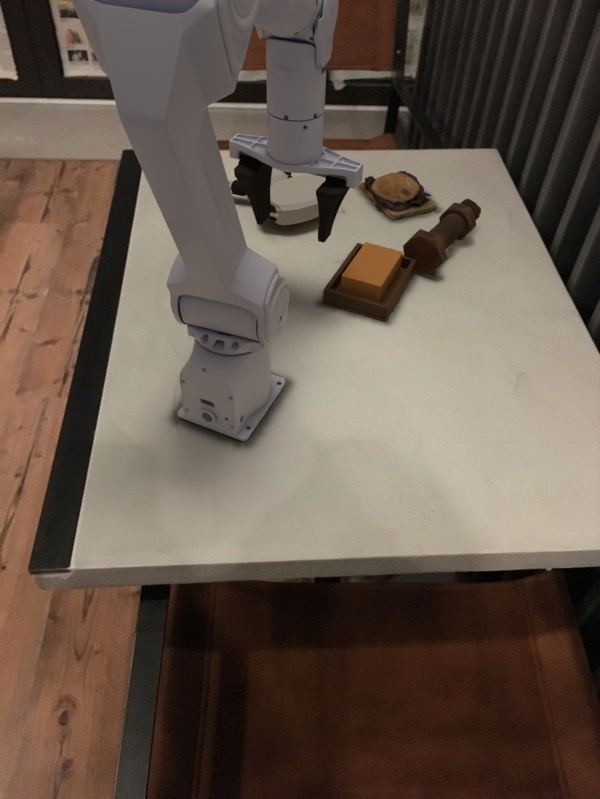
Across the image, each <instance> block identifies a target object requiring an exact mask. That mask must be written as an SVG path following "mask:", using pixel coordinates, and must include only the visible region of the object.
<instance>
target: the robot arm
mask: <svg viewBox="0 0 600 799" xmlns="http://www.w3.org/2000/svg"><path fill="white" fill-rule="evenodd" d="M70 2H71V4H72V6H73V9H74V11H75V14H76V16H77V17H78V19H79V22H80V24H81V26H82V28H83V31H84V33H85V36H86V38H87V40H88V43H89V45H90V46H91V49H92V52H93V55H94V56H95V58H96V60H97V63H98V65H99V67H100V70H101V72H102V73H104V74H105V76H107V77H108V79H109V84H110V86H111V91H112V95H113V98H114V99H113V100H114V102H115V107H116V110H117V114H118V118H119V119H120V122H121V125H122V128H123V130H124V132H125V134H126V136H127V139H128V141H129V143H130V146H131V148H132V151H133V152H134V154H135V156H136V159H137V161H138V164H139V165H140V166H139V167H140V169H141V170H142V173H143V174H144V177H145V179H146V181H147V184H148V186H149V188H150V190H151V192H152V195H153V197H154V200H155V202H156V204H157V206H158V208H159V210H160V212H161V215H162V217H163V219H164V222H165V224H166V227H167V228H168V230H169V234H170V235H171V238H172V240H173V242H174V245H175V246H176V248H177V250H178V252H177V255H176V257H175V258H174V260H173V263H172V266H171V268H170V271H169V273H168V277H167V281H166V288H167V289H168V291H169V296H170V298H169V299H170V301H169V302H170V309H171V312H172V314H173V317H174V319H175V320H176V322H177V323H178V324H180V325H185V326H186V330H187V335H188V336H189V337H192V338H194V342H193V347H192V350H191V353H190V355H189V358H188V359H187V361H186V362H185V364H184V365H183V367H182V368H181V370H180V372H179V385H180V393H181V399H182V405H181V406H180V408H179V409H178V410H177V417H178V418H181V419H182V420H185V421H188V422H190V423H193V424H196V425H199V426H201V427H204V428H206V429H210V430H212V431H215V432H217V433H220V434H223V435H225V436H228V437H230V438H233V439H236V440H239V441H242V442H245V441H248V440H249V438H250V437H251V435H252V434H253V432H255V430H256V428H257V426H258V425H259V424H260V422H261V420H262V419H263V418H264V416H265V415H266V414H267V412H268V410H269V409H270V408H271V405H272V404H273V403H274V401H275V400H276V398H277V397H278V396H279V394H280V393H281V391H282V390H283V388H284V387H285V386H286V382H287V381H286V379H285V378H284V377H282V376H279V375H276V374H274V373H271V343H273V342H274V341H276V340H277V339H278V338H279V336H280V334H281V332H282V331H283V329H284V326H285V322H286V320H287V316H288V311H289V305H290V288H289V285H288V284H287V281H286V279H285V277H283V276H281V275H280V272H279V269H278V266H277V265H276V264H275V263H273V262H271V260H269V259H267V258H266V257H264V256H262V255H261V254H259V253H258V252H256V251H254V250H253V249H251V248H250V247H249V246H248V245H247V242H246V238H245V234H244V231H243V227H242V224H241V220H240V216H239V213H238V210H237V207H236V203H235V198H234V195H233V194H232V191H231V189H230V185H229V182H228V181H229V179H228V176H227V171H226V168H225V165H224V161H223V158H222V154H221V151H220V150H221V149H220V146H219V144H218V141H217V136H216V133H215V130H214V126H213V122H212V119H211V115H210V113H209V109H208V107H209V106H210V105H213V104H214V103H216V102H218V101H220V100H222V99H224V98H227V96H230V95H231V94H234V92H235V91H236V88H237V85H238V84H237V83H238V79H239V77H240V73H241V71H242V70H243V68H244V64H245V59H246V55H247V53H248V48H249V45H250V41H251V36H252V32H253V28H254V27H255V30H256V33H257V36H258V38H259V39H260V40H262V39H263V38H267V40H265V53H266V54H265V68H266V70H265V72H266V74H265V76H266V135H265V136H264V135H250V134H245V133H244V134H243V133H239V132H238V133H236V134H235V135H234V136H233V137H231V138H230V139H229V140H228V146H229V148H228V150H229V151H228V152H229V158H230V159H235V160H238V163H237V165H236V166H235V167H234V168H233V174H234V177H235V179H236V180H238V181H239V182H240V184H241V185H242V187H243V189H244V190H245V192H246V194H247V195H246V197H247V200H248V201H249V203H250V206H251V209H252V213H253V215H254V219H255V223H256V225H258V226H263V225H264V224H265V223H266V222H267V221H268V220H269V219H268V218H269V217H270V210H271V198H270V186H271V176H272V168H275V169H277V170H280V171H284V172H291V174H293V173H294V174H307V175H314V176H316V177H319V178H320V177H321V178H324V181H325V182H323V183H322V184H321V185H320V186H319V188H318V189H317V190H316V197H317V202H318V211H319V216H318V222H317V223H318V225H317V241H318V242H319V243H326V242H327V240H328V238H329V237H330V236H331V234H332V230H333V226H334V222H335V220H336V217H337V214H338V212H339V209H340V207H341V205H342V203H343V201H344V199H345V197H346V195H347V194H348V192H349V191H350V189H357V187H358V186H360V184H361V183H362V181H363V175H364V174H363V173H364V172H363V171H364V162H361V161H358V160H354V159H351V158H349V157H348V156H344V155H342V154H340V153H338V152H336V151H334V150H332V149H330V148H328V147H325V146H324V132H325V131H324V129H325V128H324V127H325V108H326V91H327V90H326V87H327V86H326V85H327V68H328V67H327V66H328V62H329V61H330V60H331V58H332V53H333V44H334V36H335V30H336V26H337V25H336V24H337V21H338V20H337V19H338V12H339V5H340V4H339V2H340V1H339V0H70Z"/></svg>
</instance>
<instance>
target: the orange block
mask: <svg viewBox="0 0 600 799" xmlns="http://www.w3.org/2000/svg"><path fill="white" fill-rule="evenodd" d="M363 244H364V245H363V246H362V248H361V249H360V250H359V252H358V253H357V255H356V256H355V257H354V259H353V260H352V262H351V263H350V264H349V266H348V267H347V269H346V270H345V272H344V273H343V274H342V278H341V290H340V292H344V293H347V294H351V295H354V296H357V297H361V298H364V299H368V300H371V301H374V302H378V303H381V301H382V300H383V298H384V296H385V295H386V293H387V291H388V290H389V288H390V287H391V285H392V283H393V282H394V280H395V278H396V277H397V275H398V274H399V272H400V267H401V261H402V255H404V252H403V251H401V250H397V249H393V248H390V247H386V246H382V245H380V244H379V245H378V244H376V243H371V242H368V241H365V242H364V243H363Z"/></svg>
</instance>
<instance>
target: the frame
mask: <svg viewBox="0 0 600 799" xmlns="http://www.w3.org/2000/svg"><path fill="white" fill-rule="evenodd" d="M363 245H364V243H361V242H356V244H355V245H354V247H353V248H352V250H351V251H350V252H349V253H348V255H347V256H346V258H345V259H344V260H343V262H342V263H341V265H340V266H339V267H338V269H337V270H336V272H335V273H334V274H333V276H332V277H331V278H330V280H329V281H328V283H327V284H326V285H325V286H324V288H323V290H322V303H323V304H325V305H329V306H333V307H336V308H339V309H342V310H346V311H349V312H352V313H356V314H359V315H362V316H366V317H368V318H373V319H376V320H379V321H381V322H385V323H386V322H387V321H388V320H389V317H390V316H391V314H392V312H393V311H394V308H395V307H396V305H397V304H398V302H399V300H400V299H401V297H402V296H403V293H404V292H405V290H406V288H407V287H408V285H409V284H410V282H411V280H412V278H413V277H414V275H415V273H416V271H415V267H416V262H417V260H415V259H412V258H410V257H407V256H404V254H402V261H401V267H400V272H399V274H398V275H397V277H396V278H395V280H394V282H393V283H392V285H391V287H390V288H389V290H388V291H387V293H386V295H385V296H384V298H383V300H382V301H381V303H378V302H374V301H371V300H368V299H364V298H361V297H357V296H354V295H351V294H347V293H344V292H340V290H341V278H342V274H343V273H344V272H345V270H346V269H347V267H348V266H349V264H350V263H351V262H352V260H353V259H354V257H355V256H356V255H357V253H358V252H359V250H360V249H361V248H362V246H363Z"/></svg>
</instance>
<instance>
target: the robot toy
mask: <svg viewBox="0 0 600 799" xmlns="http://www.w3.org/2000/svg"><path fill="white" fill-rule="evenodd" d="M228 182H229V185H230V189H231V192H232V195H233V196H237V197H238V196H240V197H247V194H246V192H245V190H244V189H243V187H242V185H241V184H240V182H239V181H238V180H237V179H233V181H232V180H228ZM323 182H325V179H323V178H320V177H319V176H316V175H312V174H307V175H306V174H302V175H297V176H292V173H291V172H284V171H280V170H277V169H275V168H272V176H271V186H270V198H271V210H270V217H269V218H268V220H269V221H271V222H273V223H274V224H277V225H280V226H290V225H296V224H301V223H305V222H308V221H312V220H315V219H317V218H319V211H318V202H317V197H316V190H317V189H318V188H319V186H320V185H321V184H322V183H323Z"/></svg>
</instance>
